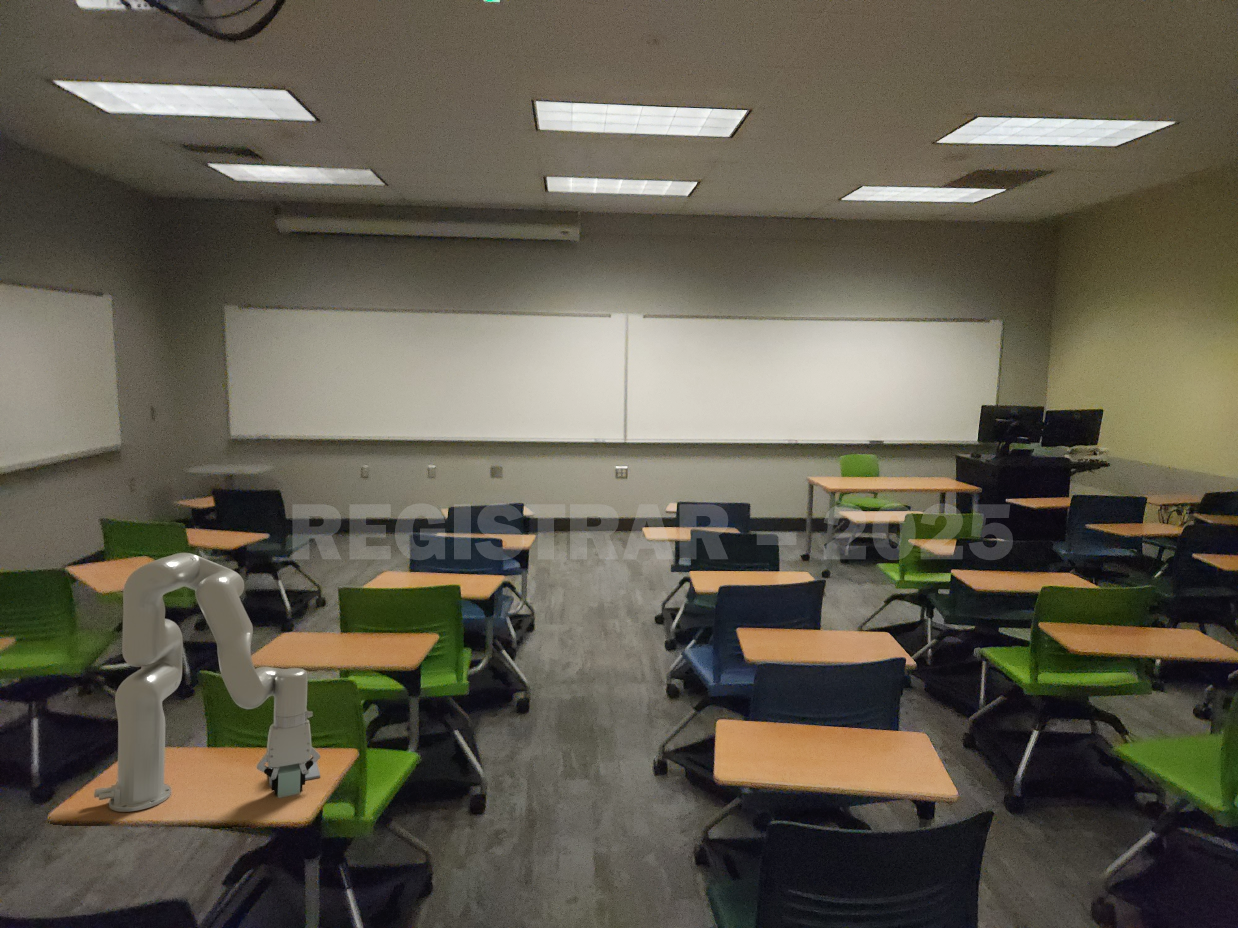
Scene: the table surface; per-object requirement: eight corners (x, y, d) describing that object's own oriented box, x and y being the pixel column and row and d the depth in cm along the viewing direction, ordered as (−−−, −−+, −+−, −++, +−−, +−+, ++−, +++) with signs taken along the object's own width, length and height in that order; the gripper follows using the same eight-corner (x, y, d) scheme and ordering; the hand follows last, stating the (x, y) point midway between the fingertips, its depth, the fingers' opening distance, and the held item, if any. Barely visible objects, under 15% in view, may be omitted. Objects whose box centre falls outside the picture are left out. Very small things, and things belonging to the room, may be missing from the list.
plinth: (269, 786, 178) (270, 771, 178) (267, 767, 188) (267, 752, 188) (320, 777, 184) (320, 762, 184) (315, 759, 194) (315, 745, 194)
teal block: (277, 797, 173) (278, 773, 172) (276, 789, 177) (277, 765, 177) (299, 793, 175) (300, 769, 175) (298, 785, 179) (298, 761, 179)
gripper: (324, 708, 183) (322, 777, 183) (251, 719, 175) (250, 790, 175) (328, 718, 177) (326, 789, 177) (252, 729, 168) (250, 804, 168)
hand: (288, 789), depth 176 cm, fingers closed on teal block, 4 cm apart
